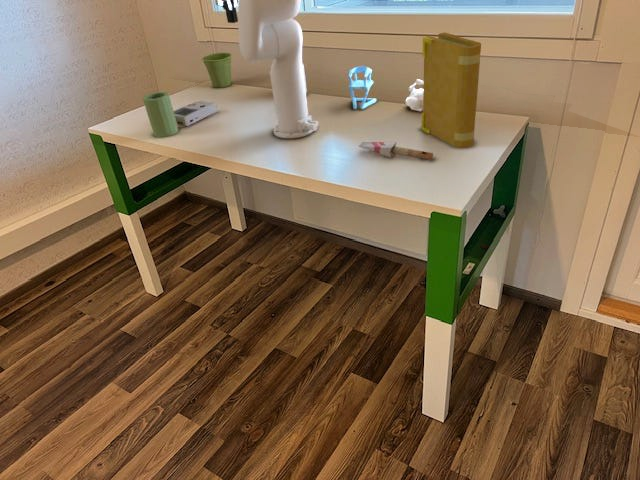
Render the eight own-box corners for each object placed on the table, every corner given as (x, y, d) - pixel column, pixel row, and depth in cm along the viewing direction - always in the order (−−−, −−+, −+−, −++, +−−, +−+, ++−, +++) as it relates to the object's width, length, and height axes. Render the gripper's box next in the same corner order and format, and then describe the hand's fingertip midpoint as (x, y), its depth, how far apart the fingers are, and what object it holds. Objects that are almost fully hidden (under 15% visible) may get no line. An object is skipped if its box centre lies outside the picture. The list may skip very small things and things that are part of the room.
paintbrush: (363, 136, 132) (435, 148, 123) (363, 145, 134) (434, 158, 125) (357, 141, 129) (429, 154, 121) (357, 151, 131) (428, 164, 122)
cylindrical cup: (183, 129, 159) (173, 93, 153) (164, 138, 154) (153, 101, 148) (168, 126, 163) (157, 90, 157) (149, 135, 158) (137, 98, 152)
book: (421, 129, 139) (422, 37, 125) (441, 123, 141) (444, 32, 127) (457, 150, 126) (463, 49, 112) (479, 143, 128) (487, 43, 114)
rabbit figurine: (445, 107, 151) (446, 76, 146) (434, 116, 147) (435, 84, 141) (410, 103, 158) (410, 72, 152) (398, 111, 153) (398, 80, 148)
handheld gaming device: (218, 112, 170) (215, 101, 167) (186, 128, 160) (183, 116, 158) (200, 110, 174) (197, 99, 172) (169, 125, 165) (165, 114, 162)
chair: (346, 109, 159) (343, 71, 152) (354, 100, 165) (352, 64, 159) (369, 110, 157) (367, 72, 150) (376, 101, 163) (375, 64, 156)
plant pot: (223, 91, 190) (217, 61, 183) (201, 88, 195) (195, 59, 189) (243, 81, 197) (238, 53, 191) (221, 79, 203) (215, 51, 197)
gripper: (211, -40, 142) (225, 28, 152) (246, -47, 152) (256, 17, 162) (194, -39, 146) (208, 27, 156) (229, -46, 156) (240, 17, 166)
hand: (233, 22), depth 159 cm, fingers closed
